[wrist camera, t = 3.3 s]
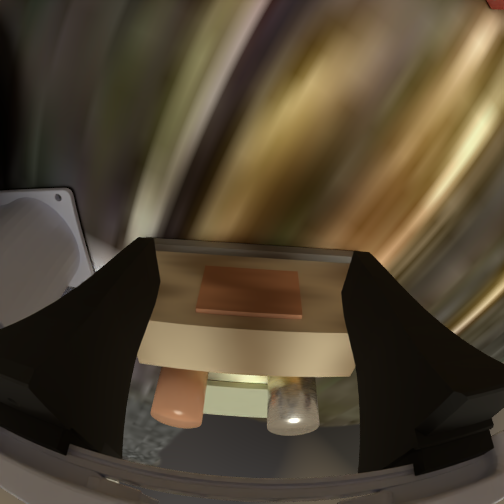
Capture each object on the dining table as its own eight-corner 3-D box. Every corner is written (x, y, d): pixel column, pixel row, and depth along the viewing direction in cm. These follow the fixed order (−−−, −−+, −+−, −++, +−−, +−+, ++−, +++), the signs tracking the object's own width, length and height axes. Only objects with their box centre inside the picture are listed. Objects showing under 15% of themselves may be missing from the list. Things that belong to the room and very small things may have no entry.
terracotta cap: (168, 367, 27) (156, 423, 22) (161, 341, 25) (145, 404, 20) (211, 372, 27) (203, 430, 22) (208, 347, 25) (199, 412, 20)
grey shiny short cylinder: (265, 375, 27) (264, 435, 22) (270, 351, 25) (269, 417, 20) (308, 377, 27) (313, 435, 22) (318, 352, 25) (324, 417, 20)
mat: (188, 406, 32) (188, 411, 32) (181, 377, 28) (180, 382, 27) (276, 413, 32) (276, 417, 32) (285, 384, 28) (285, 390, 27)
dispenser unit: (156, 296, 21) (133, 366, 17) (146, 237, 18) (111, 308, 14) (340, 308, 21) (355, 380, 17) (359, 251, 18) (385, 326, 14)
